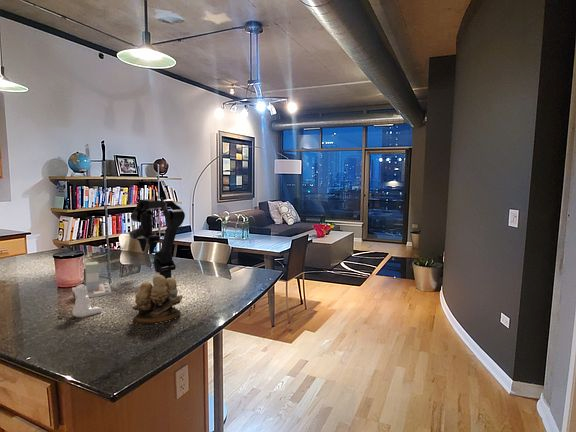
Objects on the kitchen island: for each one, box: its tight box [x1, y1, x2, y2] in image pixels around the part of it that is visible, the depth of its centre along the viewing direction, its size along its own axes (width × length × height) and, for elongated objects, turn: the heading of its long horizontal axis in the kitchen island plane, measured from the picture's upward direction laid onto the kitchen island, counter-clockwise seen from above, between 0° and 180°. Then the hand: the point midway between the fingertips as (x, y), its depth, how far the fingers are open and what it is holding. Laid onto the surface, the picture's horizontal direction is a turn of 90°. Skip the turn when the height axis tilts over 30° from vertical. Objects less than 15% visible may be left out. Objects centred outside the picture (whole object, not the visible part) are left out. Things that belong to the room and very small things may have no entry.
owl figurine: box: [131, 274, 183, 325], centre depth 133 cm, size 18×12×17 cm, turn 120°
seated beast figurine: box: [71, 283, 103, 318], centre depth 134 cm, size 10×9×12 cm
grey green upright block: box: [85, 261, 100, 291], centre depth 160 cm, size 5×5×12 cm
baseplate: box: [74, 282, 112, 300], centre depth 161 cm, size 14×14×2 cm
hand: (147, 252), depth 186 cm, fingers open, 9 cm apart
